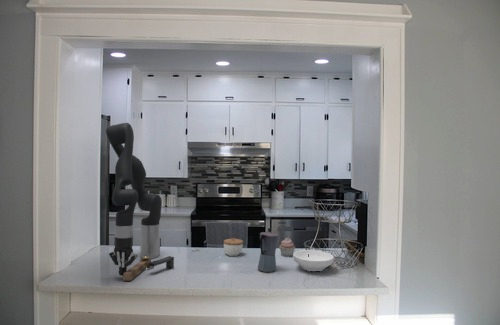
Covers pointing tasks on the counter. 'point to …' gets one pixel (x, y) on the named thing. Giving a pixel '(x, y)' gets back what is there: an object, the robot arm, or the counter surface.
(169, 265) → the keeper
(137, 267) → the walnut link
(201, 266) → the counter surface
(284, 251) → the cupcake
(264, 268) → the moka pot
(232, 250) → the lidded jar
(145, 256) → the pin base
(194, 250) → the mounting bracket
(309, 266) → the bowl
